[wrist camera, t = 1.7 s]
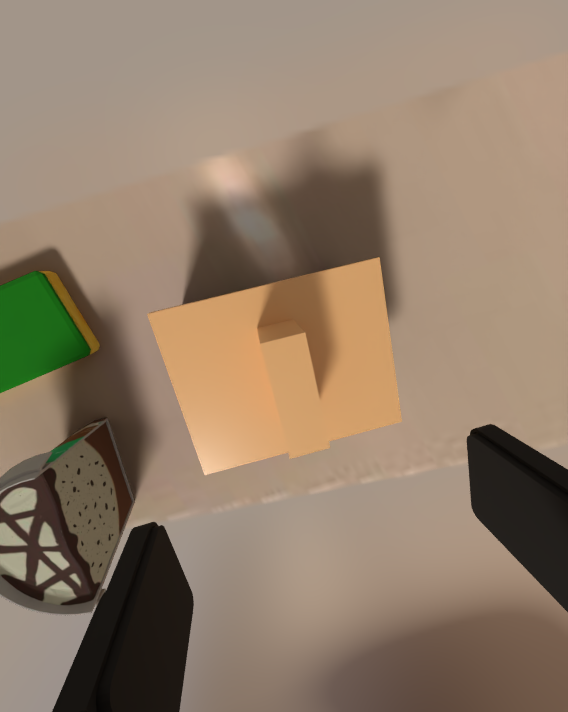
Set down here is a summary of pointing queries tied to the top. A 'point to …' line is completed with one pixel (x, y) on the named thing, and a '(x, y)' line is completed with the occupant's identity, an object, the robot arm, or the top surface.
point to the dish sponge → (39, 329)
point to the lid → (282, 365)
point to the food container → (63, 523)
